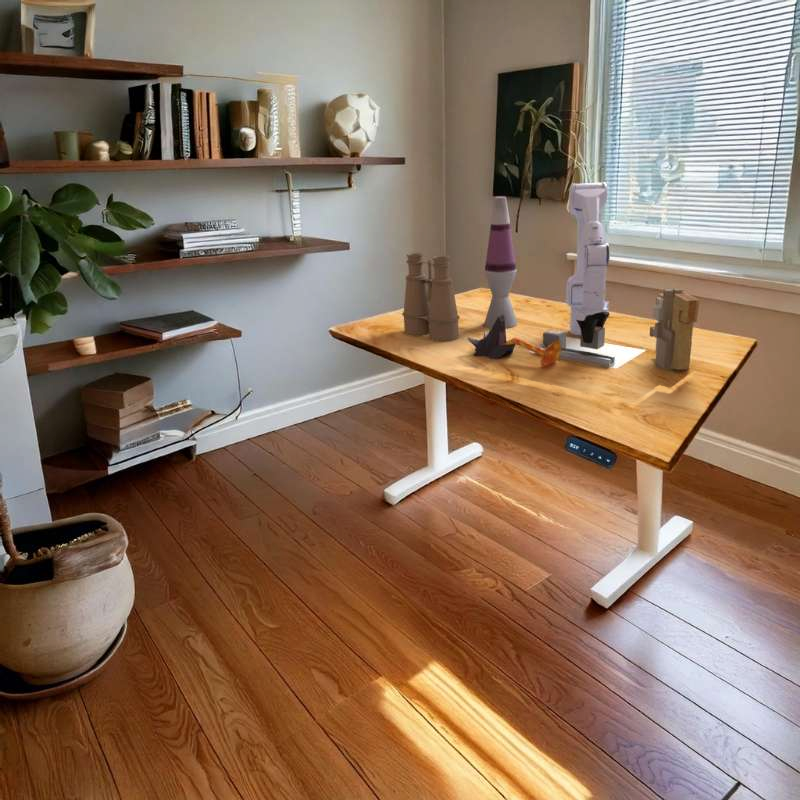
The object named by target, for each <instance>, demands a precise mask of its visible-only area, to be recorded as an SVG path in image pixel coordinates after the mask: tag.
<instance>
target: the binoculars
mask: <svg viewBox="0 0 800 800" xmlns="http://www.w3.org/2000/svg"><path fill="white" fill-rule="evenodd" d="M423 256H424V252H408V253H406V257H407V260H406V264H407V265H408V275H406V276H405V281H406V282H405V290H404V291H405V294H404V305H403V312H401V313H402V315H401V316H402V317H403V325H404V334H405V335H406V334H407V335H406V336H409V335H411V336H410V337H424V336H423V335H425V336H428V339H429V340H430V341H432V340H433V342H437V341H438V342H437V343H447V341H448V342H452V341H456V340H458V339H460V338H459V337H460V334H459V320H460V316H459V314H458V309H457V304H456V302H457V301H456V296H455V295H456V294H455V291H454V285H453V283H454V280H453V278H452V277H450V266H451V265H452V264H451V263H452V262H450V258H451V255H447V254H445V255H444V254H439V255H434V256H432V260H431V259H428V260H425V259H423V258H424V257H423ZM423 264H427V267H428V269H427V271H428V276H427V275H426V274H425V273H424V265H423ZM432 267H433V270H434V271H433V272H434V273H433V274H434V275H433V276H434V277H433V276H432ZM428 334H429V335H428Z"/></svg>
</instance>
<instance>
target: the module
mask: <svg viewBox="0 0 800 800" xmlns="http://www.w3.org/2000/svg"><path fill="white" fill-rule="evenodd" d="M605 334H606V327H604V326H603V327H597V326H595V329H594V334H593V340H592V343H585V342H583V338H582V333H581V335H580V339H581V341H580V347H586V348H592V349H599V348H601V347H602V346H604V343H605V338H606V337H605V336H606V335H605Z"/></svg>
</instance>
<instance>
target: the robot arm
mask: <svg viewBox="0 0 800 800" xmlns="http://www.w3.org/2000/svg"><path fill="white" fill-rule="evenodd" d="M568 198H569V200H568V201H569V202H568V203H569V204H568V205H569V206H568V208H569V213H570V214H571V215H573V216H575V218H576V223H577V230H576V231H577V234H576V239H577V240H576V273H574V274H573V275H572V276H570V277H569V278H568V279H567V281H566V287H565V303H566V305H567V306H568V307H569V306H570V314H569V315H570V317H569V319H570V321H569V333H570V334H572V335H574V336H575V335H576V336H581V333H582V338H583V342H585V343H592V340H593V334H594V329H595V326H597V327H604V326H605V323H606V322H607V319H608V318H609V316H610V312H609V310H610V308H609V307H610V301H606V283H607V269H608V268H607V267H609V264H610V260H611V259H610V257H611V250H610V245H609V243H608V241H607V240H606V234H605V233H606V232H605V226H604V225H603V224H602V223H601V222H600V213H602V212H603V210H604V209H605V206H606V203H607V200H608V199H607V198H608V185H607V183H606V182H605V181H602V182H586V183H574V182H573V183H571V185H570V187H569V197H568Z"/></svg>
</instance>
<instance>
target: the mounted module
mask: <svg viewBox="0 0 800 800" xmlns="http://www.w3.org/2000/svg"><path fill="white" fill-rule="evenodd" d="M566 337H567V331H562V330H561V331H560V330H554V329H549V330H547V331H544V332H543V333H542V344H547V345H549V344H551V343H553V342H556V341H558V340H560V343H561V347H563V348H566Z"/></svg>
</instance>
